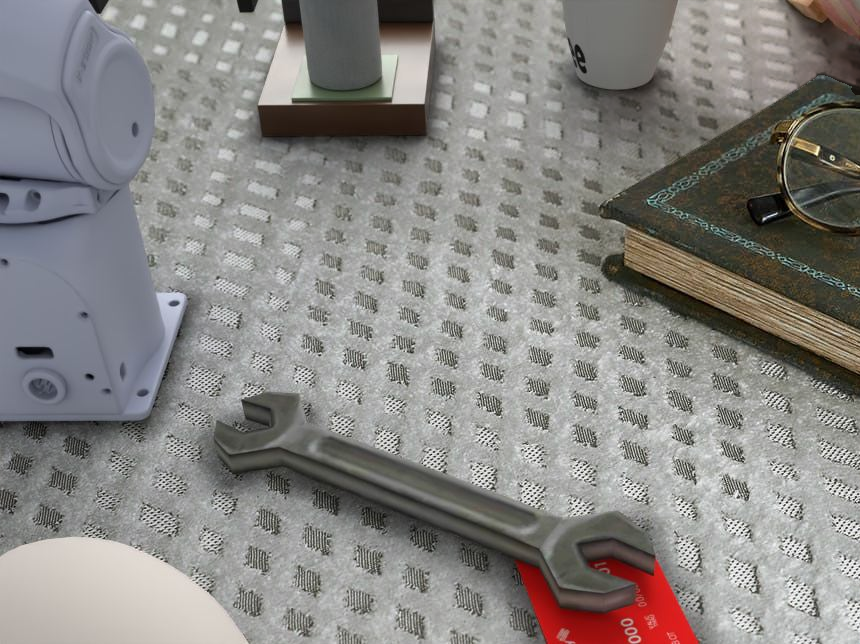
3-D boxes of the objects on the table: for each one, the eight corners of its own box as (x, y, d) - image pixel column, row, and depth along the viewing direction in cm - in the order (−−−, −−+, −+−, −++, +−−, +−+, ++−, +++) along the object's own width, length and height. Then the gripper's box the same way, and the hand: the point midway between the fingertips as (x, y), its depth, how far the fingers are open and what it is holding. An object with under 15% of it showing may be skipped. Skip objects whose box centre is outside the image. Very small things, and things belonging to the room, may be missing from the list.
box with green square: (426, 135, 72) (423, 77, 70) (262, 136, 72) (252, 79, 70) (435, 45, 82) (433, -8, 79) (290, 46, 82) (283, -7, 79)
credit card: (512, 552, 47) (512, 551, 47) (639, 526, 48) (639, 525, 48) (577, 723, 41) (577, 722, 41) (721, 689, 42) (721, 688, 42)
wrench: (615, 614, 43) (189, 439, 50) (615, 642, 44) (200, 467, 51) (673, 522, 45) (260, 369, 53) (671, 551, 47) (268, 397, 54)
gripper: (291, -334, 54) (325, -26, 63) (-28, -330, 54) (53, -24, 64) (268, -301, 49) (309, 28, 58) (-84, -296, 49) (14, 31, 58)
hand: (174, 5), depth 61 cm, fingers open, 7 cm apart
